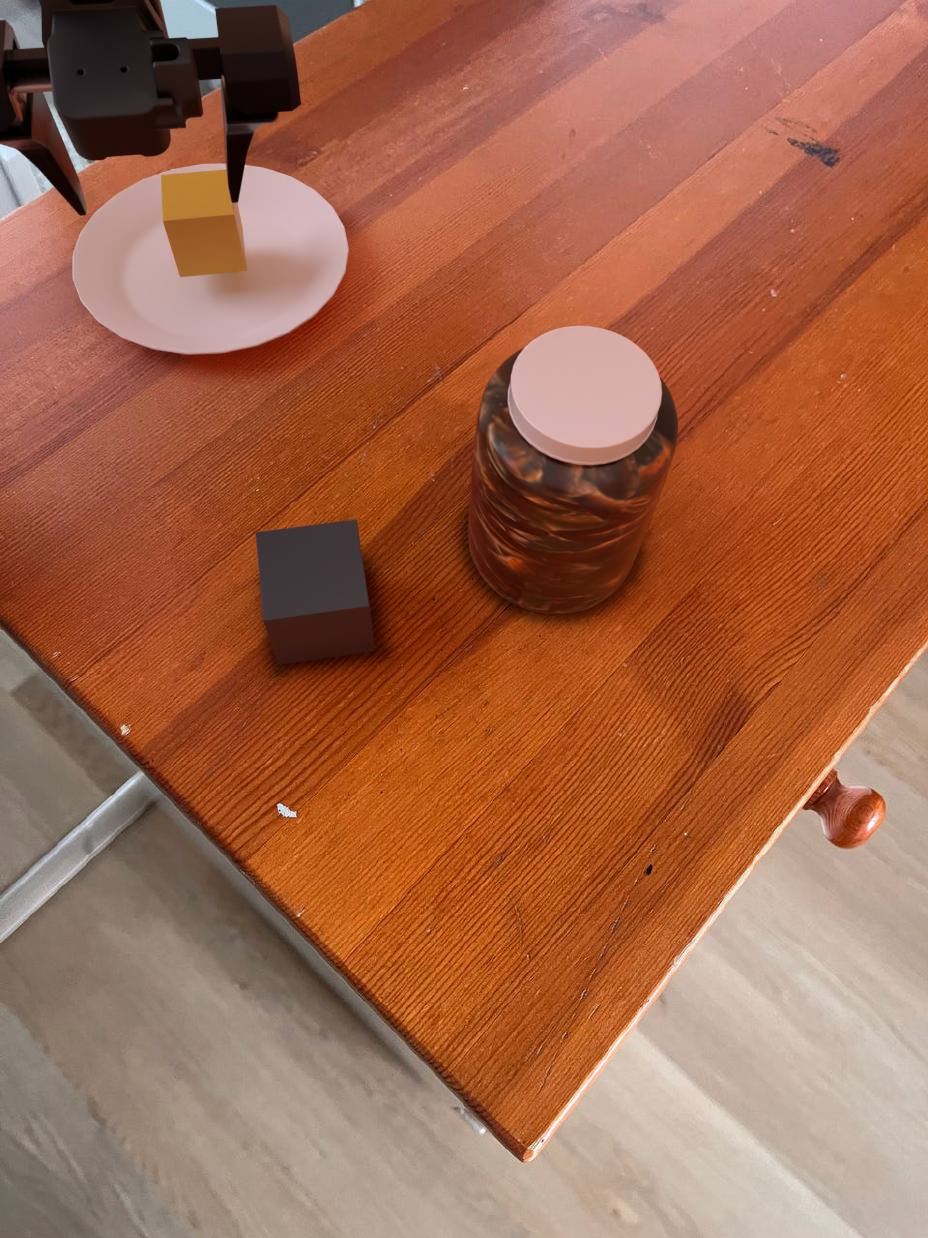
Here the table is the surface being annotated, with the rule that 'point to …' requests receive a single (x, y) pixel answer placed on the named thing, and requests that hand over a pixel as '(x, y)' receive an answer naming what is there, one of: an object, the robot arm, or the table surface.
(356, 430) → the table surface
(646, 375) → the jar
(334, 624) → the base block
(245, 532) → the table surface
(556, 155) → the table surface
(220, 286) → the plate
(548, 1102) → the table surface
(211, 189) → the top block
